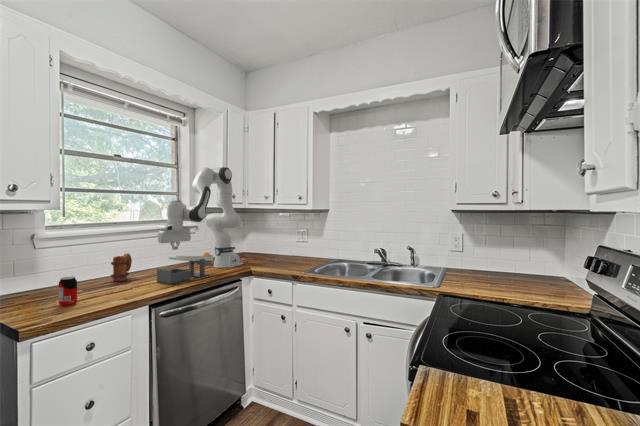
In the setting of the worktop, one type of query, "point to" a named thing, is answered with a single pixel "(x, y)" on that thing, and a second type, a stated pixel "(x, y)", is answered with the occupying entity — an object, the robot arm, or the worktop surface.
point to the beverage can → (67, 291)
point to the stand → (202, 269)
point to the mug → (121, 267)
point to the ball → (206, 255)
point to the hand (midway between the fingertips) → (175, 249)
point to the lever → (194, 259)
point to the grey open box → (172, 276)
